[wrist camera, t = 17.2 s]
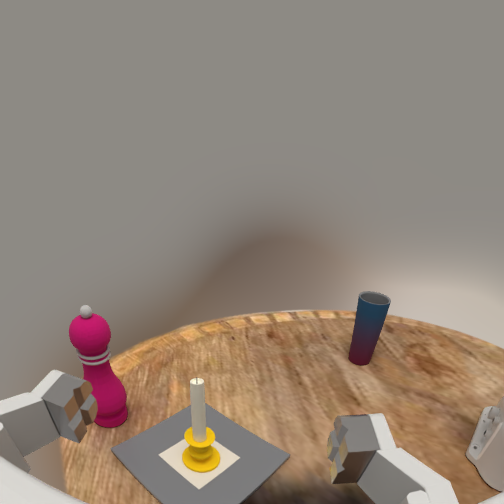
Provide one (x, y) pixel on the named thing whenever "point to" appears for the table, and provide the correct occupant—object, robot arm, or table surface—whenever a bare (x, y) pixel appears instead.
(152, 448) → the tile
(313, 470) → the table surface
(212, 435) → the candle
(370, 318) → the cup
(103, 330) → the pepper mill
